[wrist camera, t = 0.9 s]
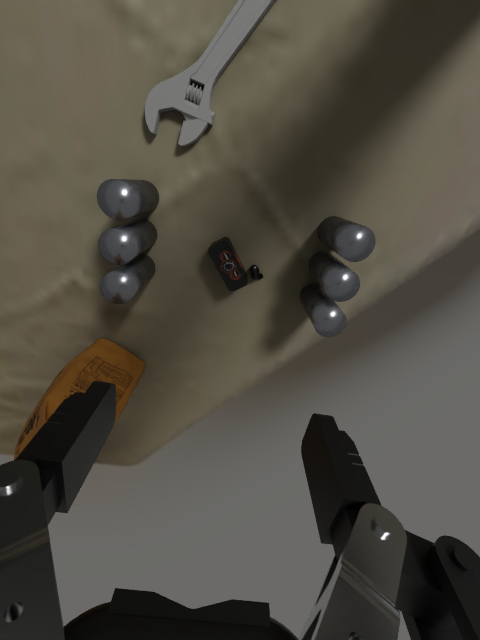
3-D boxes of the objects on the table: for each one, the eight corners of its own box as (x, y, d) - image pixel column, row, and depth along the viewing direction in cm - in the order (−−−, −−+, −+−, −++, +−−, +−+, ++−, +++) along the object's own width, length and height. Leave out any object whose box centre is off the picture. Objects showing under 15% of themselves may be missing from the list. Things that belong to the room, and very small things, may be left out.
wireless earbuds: (233, 290, 41) (233, 298, 38) (209, 243, 39) (206, 248, 36) (263, 276, 40) (265, 283, 38) (240, 227, 38) (240, 231, 35)
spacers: (129, 177, 35) (96, 175, 27) (349, 219, 37) (380, 229, 29) (128, 277, 40) (100, 301, 32) (321, 309, 42) (340, 339, 34)
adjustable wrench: (321, -118, 26) (327, -138, 24) (361, -41, 28) (369, -55, 26) (139, 113, 33) (134, 110, 31) (181, 161, 35) (179, 160, 33)
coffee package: (59, 373, 47) (-73, 512, 27) (103, 325, 44) (-12, 446, 24) (110, 408, 50) (24, 555, 30) (156, 366, 47) (92, 502, 27)
